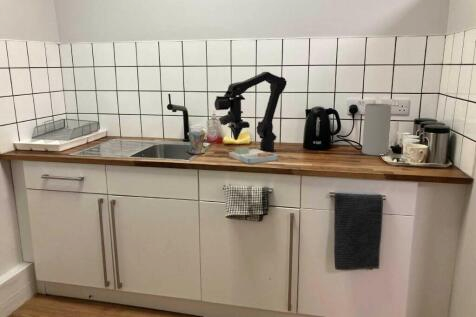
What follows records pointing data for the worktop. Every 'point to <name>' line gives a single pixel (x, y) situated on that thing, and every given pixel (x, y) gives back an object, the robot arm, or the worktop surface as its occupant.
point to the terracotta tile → (264, 154)
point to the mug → (196, 142)
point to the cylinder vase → (376, 129)
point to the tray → (258, 159)
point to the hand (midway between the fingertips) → (235, 139)
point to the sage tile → (242, 150)
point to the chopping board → (252, 154)
